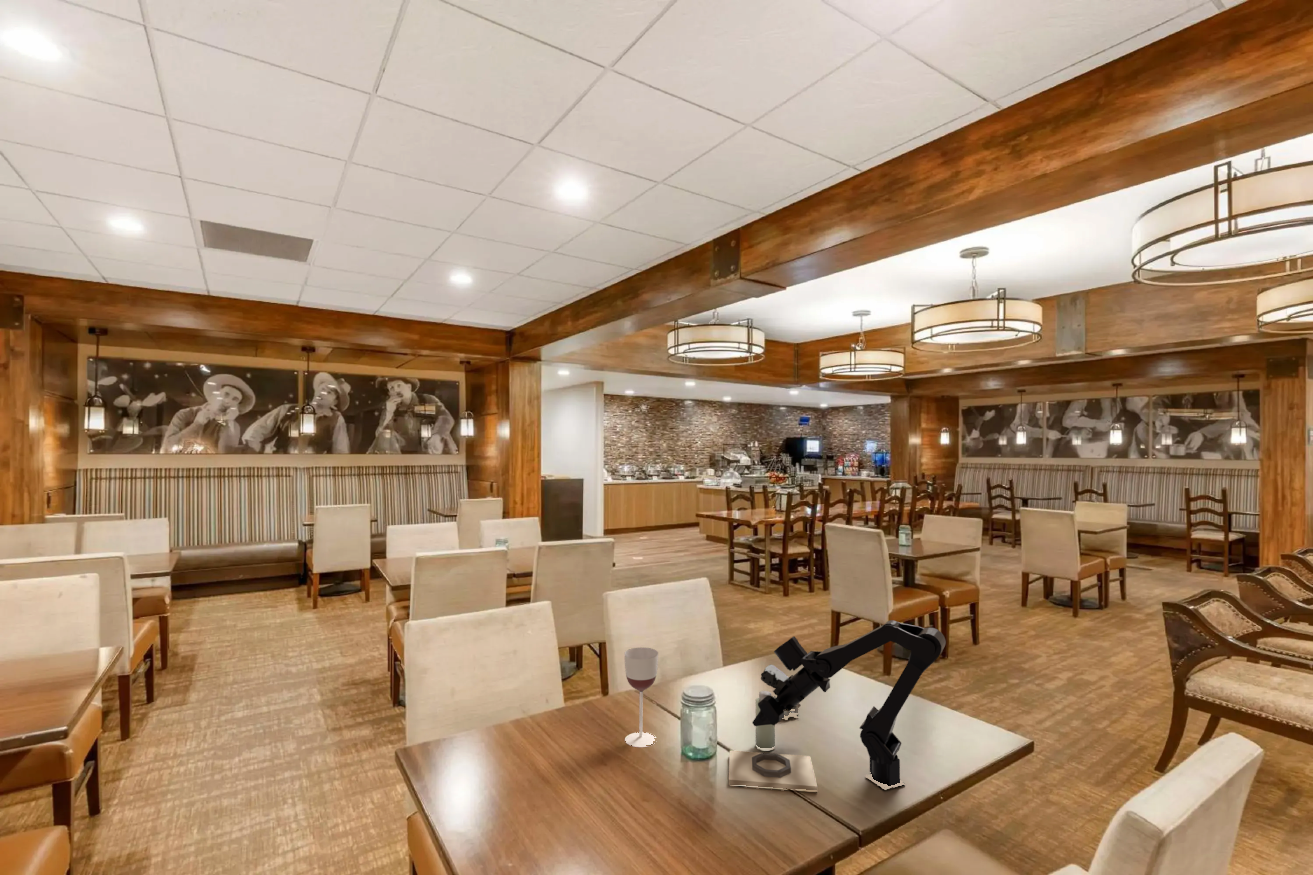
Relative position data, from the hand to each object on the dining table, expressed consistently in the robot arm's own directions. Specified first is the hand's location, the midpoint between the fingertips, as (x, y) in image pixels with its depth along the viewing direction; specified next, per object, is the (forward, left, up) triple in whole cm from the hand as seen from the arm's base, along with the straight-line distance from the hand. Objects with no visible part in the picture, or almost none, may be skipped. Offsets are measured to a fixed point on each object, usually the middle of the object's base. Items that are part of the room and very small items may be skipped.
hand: (760, 717), depth 159 cm
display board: (-13, +5, -7) cm, 16 cm away
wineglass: (+15, +28, -7) cm, 33 cm away
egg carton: (+16, -17, -8) cm, 24 cm away
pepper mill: (-1, -1, -7) cm, 7 cm away
